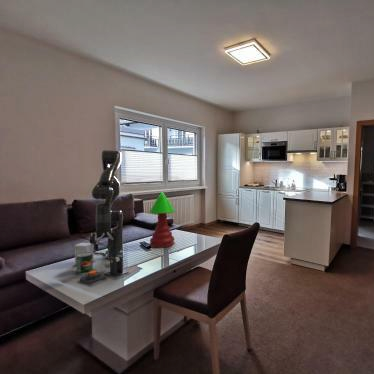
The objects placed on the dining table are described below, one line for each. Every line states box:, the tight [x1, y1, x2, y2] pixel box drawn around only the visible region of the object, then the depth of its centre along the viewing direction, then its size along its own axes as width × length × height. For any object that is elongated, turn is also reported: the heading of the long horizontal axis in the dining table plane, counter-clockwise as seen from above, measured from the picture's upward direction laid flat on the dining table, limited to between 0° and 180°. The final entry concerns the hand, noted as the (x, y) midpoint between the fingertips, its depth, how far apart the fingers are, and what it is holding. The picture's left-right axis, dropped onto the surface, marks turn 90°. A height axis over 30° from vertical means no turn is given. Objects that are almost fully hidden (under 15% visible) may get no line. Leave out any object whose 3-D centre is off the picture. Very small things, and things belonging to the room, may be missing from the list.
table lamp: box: [149, 191, 176, 249], centre depth 195 cm, size 20×20×45 cm
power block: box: [79, 270, 107, 285], centre depth 128 cm, size 10×8×4 cm
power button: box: [88, 269, 97, 276], centre depth 128 cm, size 4×4×2 cm
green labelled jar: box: [74, 242, 95, 266], centre depth 152 cm, size 8×6×13 cm
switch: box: [104, 257, 120, 269], centre depth 138 cm, size 12×3×3 cm
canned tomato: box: [76, 252, 94, 275], centre depth 139 cm, size 8×8×11 cm
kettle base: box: [104, 255, 129, 279], centre depth 136 cm, size 10×8×11 cm
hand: (103, 248), depth 136 cm, fingers open, 8 cm apart
